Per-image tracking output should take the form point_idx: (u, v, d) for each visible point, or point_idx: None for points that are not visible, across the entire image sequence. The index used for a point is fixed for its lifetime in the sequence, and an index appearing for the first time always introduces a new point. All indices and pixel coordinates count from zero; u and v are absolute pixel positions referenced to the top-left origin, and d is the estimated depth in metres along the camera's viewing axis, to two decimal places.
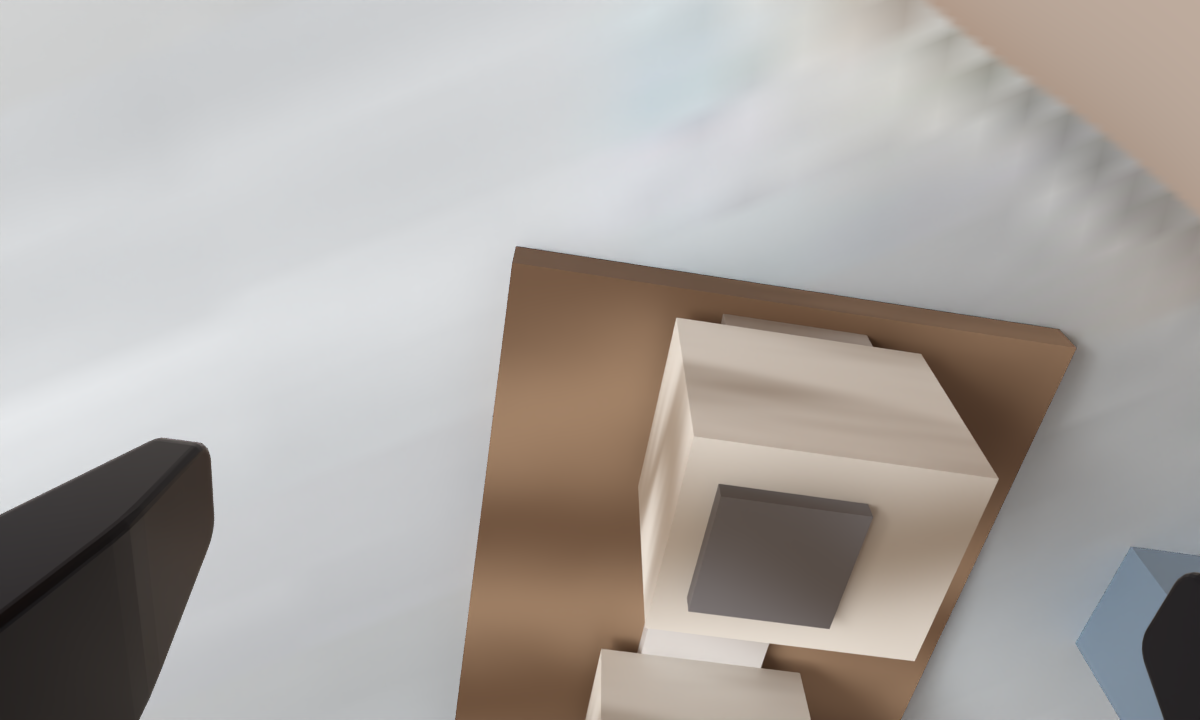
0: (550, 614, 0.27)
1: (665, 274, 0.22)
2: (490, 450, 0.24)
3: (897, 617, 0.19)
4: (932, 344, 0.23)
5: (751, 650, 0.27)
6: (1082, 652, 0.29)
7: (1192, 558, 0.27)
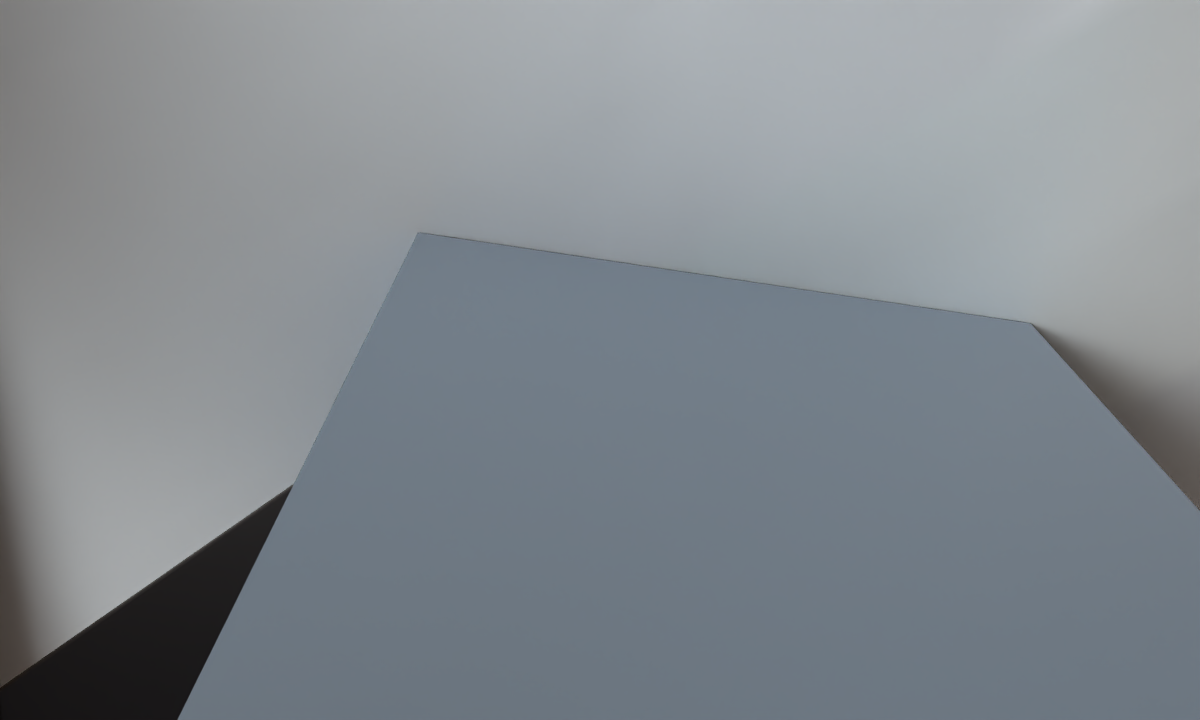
0: None
1: None
2: None
3: None
4: None
5: None
6: None
7: (612, 270, 0.09)
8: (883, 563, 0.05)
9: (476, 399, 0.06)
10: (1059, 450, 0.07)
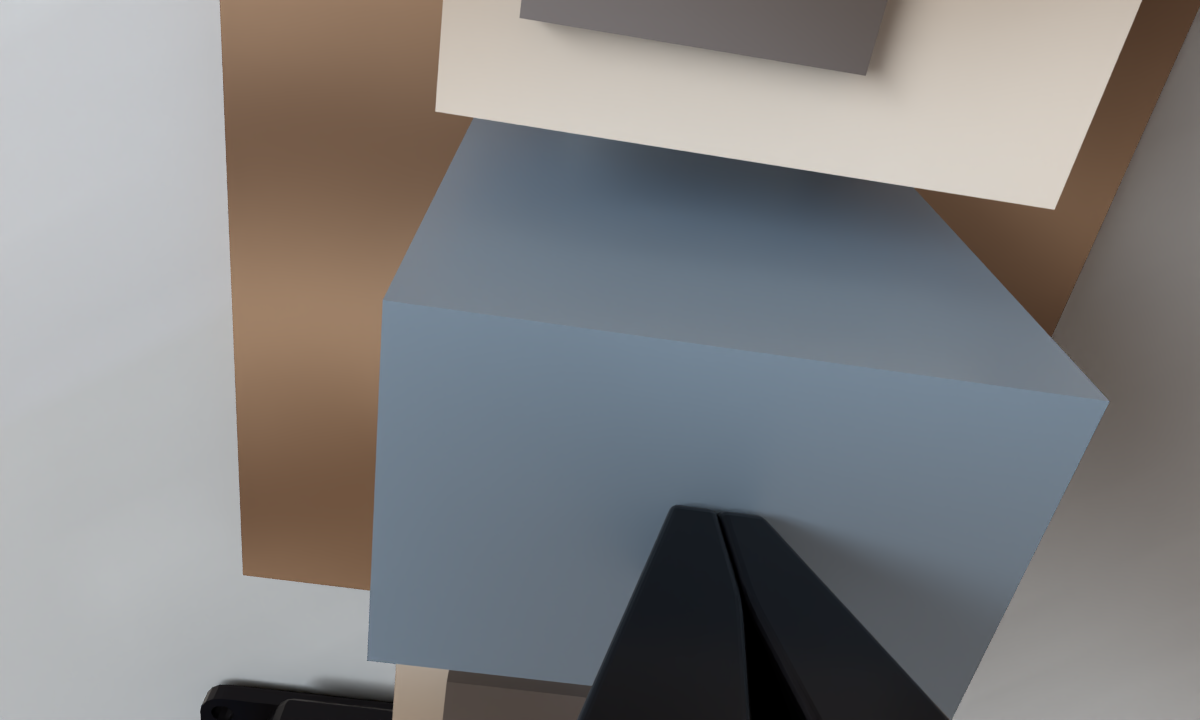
0: (372, 331, 0.16)
1: None
2: None
3: (1024, 71, 0.08)
4: None
5: None
6: None
7: None
8: (754, 225, 0.10)
9: (532, 159, 0.11)
10: (875, 201, 0.12)
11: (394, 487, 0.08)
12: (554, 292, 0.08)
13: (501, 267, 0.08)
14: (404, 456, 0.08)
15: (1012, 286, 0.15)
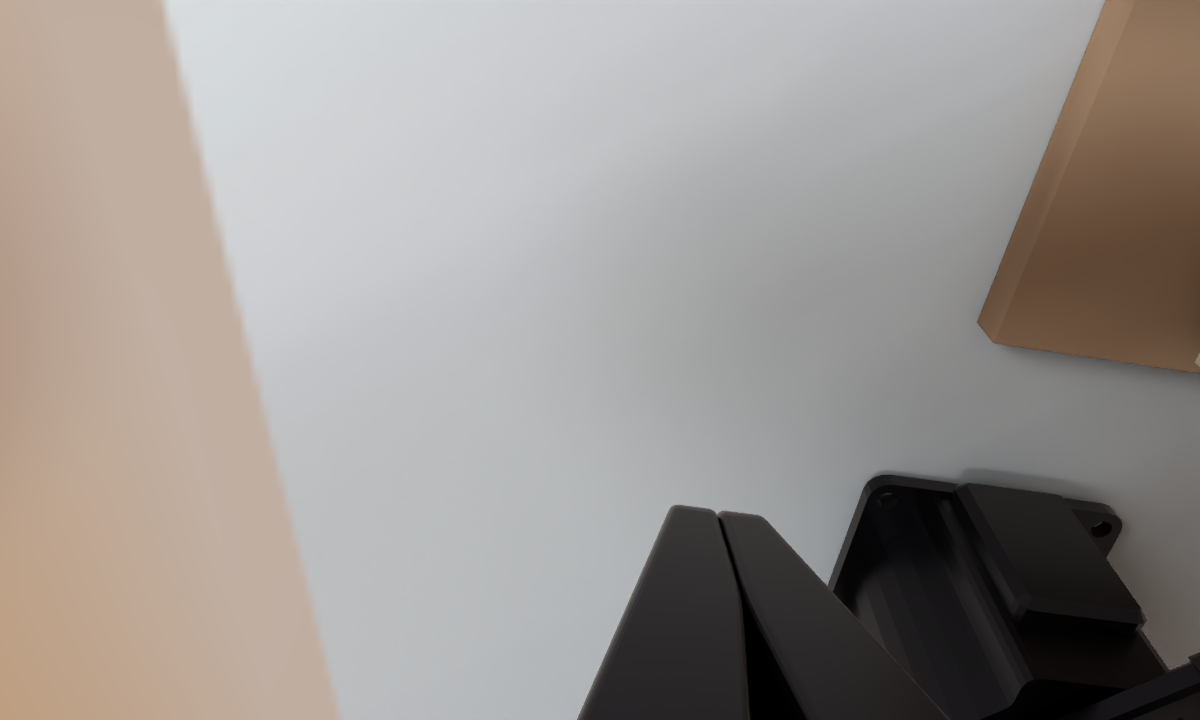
0: None
1: None
2: None
3: None
4: None
5: None
6: None
7: None
8: None
9: None
10: None
11: None
12: None
13: None
14: None
15: None
